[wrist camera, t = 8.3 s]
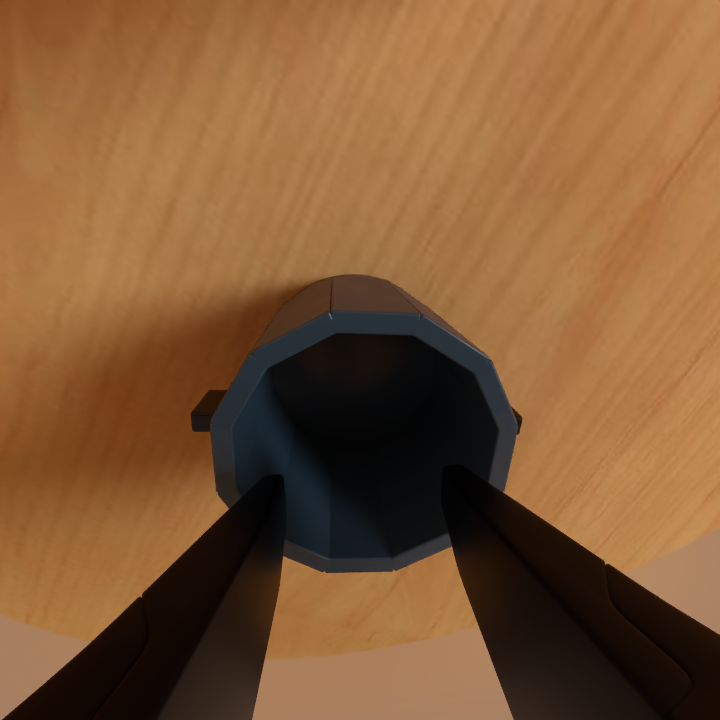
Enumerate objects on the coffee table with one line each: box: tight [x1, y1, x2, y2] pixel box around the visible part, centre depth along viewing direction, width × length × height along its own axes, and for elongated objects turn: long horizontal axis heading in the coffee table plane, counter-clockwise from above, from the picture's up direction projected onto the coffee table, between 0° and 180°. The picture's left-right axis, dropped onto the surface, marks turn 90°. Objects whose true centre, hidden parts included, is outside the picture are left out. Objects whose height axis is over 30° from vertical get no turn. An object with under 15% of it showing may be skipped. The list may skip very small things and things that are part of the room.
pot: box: [191, 275, 522, 573], centre depth 12 cm, size 7×9×7 cm
